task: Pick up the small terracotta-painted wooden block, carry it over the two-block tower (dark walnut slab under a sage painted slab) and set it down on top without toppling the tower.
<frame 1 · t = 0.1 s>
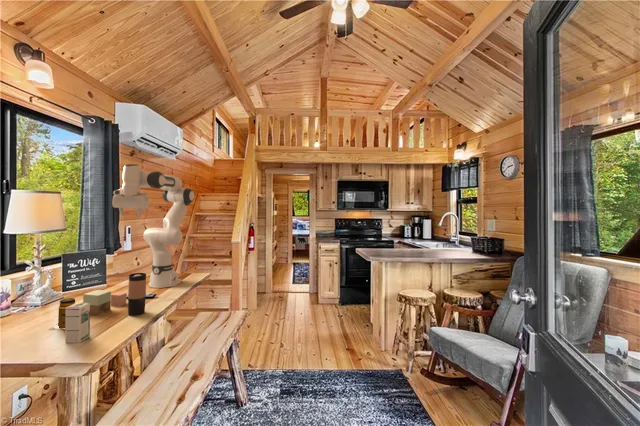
hand: (130, 216, 174), 48 cm above the table, fingers open, 8 cm apart
travel mug: (136, 314, 154), on the table
block top: (97, 302, 153), point 5 cm above the table, touching block low
block low: (96, 312, 154), on the table, touching block top
block small: (118, 304, 165), on the table
syrup box: (77, 340, 123), on the table
condiment: (64, 326, 136), on the table
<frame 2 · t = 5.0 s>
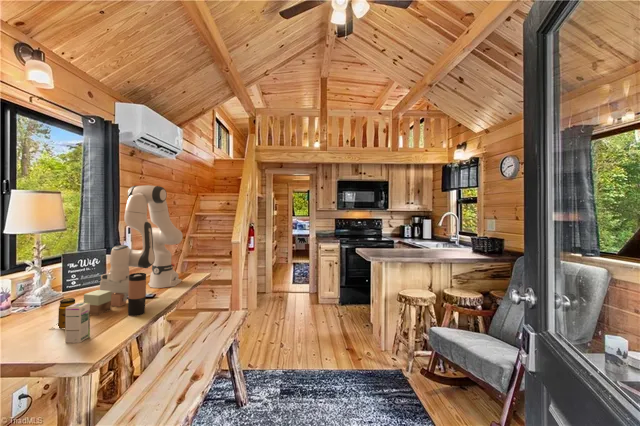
hand: (118, 300, 165), 2 cm above the table, fingers closed on block small, 5 cm apart
block small: (118, 304, 165), on the table, touching gripper
everything else where it was.
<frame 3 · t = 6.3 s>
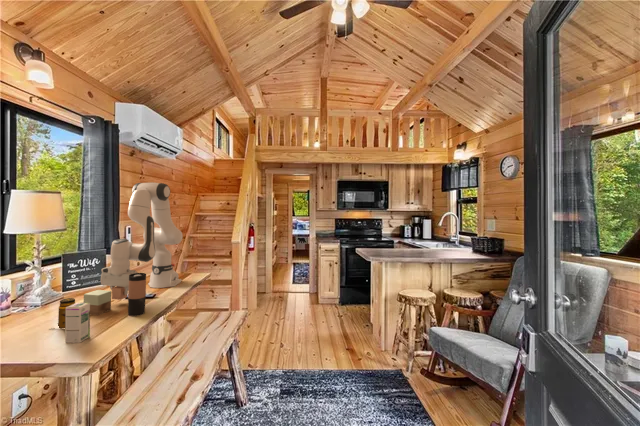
hand: (119, 294, 166), 6 cm above the table, fingers closed on block small, 5 cm apart
block small: (119, 297, 166), point 3 cm above the table, touching gripper
everything else where it was.
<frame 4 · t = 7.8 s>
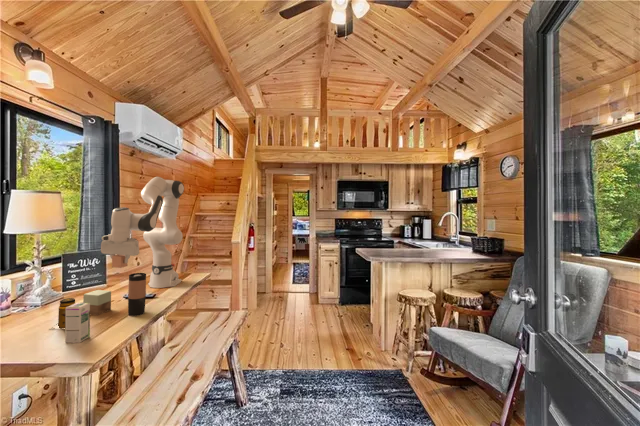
hand: (119, 262, 165), 23 cm above the table, fingers closed on block small, 5 cm apart
block small: (119, 266, 165), point 21 cm above the table, touching gripper
everything else where it was.
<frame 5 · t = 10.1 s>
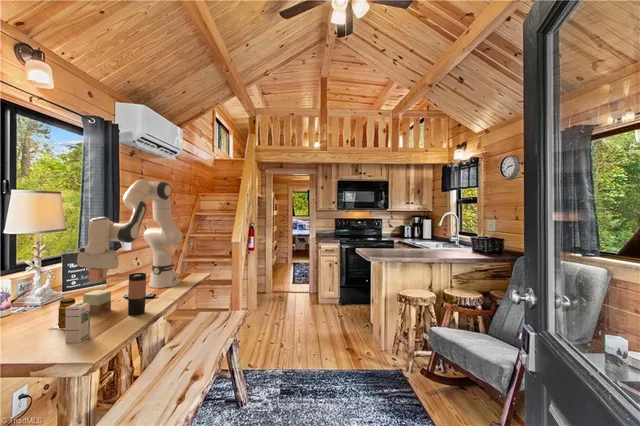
hand: (97, 276, 153), 18 cm above the table, fingers closed on block small, 5 cm apart
block small: (97, 280, 153), point 16 cm above the table, touching gripper
everything else where it was.
when the fingers open (13 cm above the table, at t = 12.2 s): block small drops 1 cm, resting on block top.
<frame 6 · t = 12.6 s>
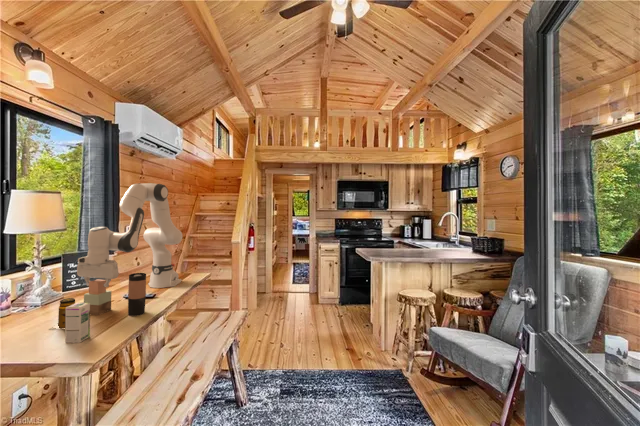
hand: (97, 286, 153), 13 cm above the table, fingers open, 8 cm apart
block top: (97, 302, 154), point 5 cm above the table, touching block low, block small
block small: (97, 292, 153), point 10 cm above the table, touching block top
everything else where it was.
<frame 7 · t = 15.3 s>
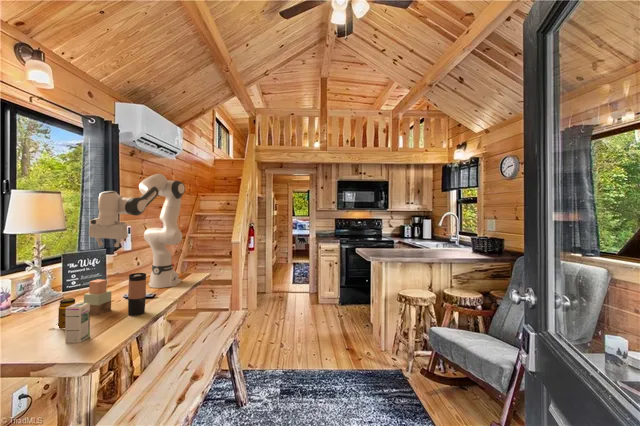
hand: (108, 246, 164), 32 cm above the table, fingers open, 8 cm apart
block top: (97, 302, 154), point 5 cm above the table, touching block low
block small: (97, 292, 154), point 10 cm above the table
everything else where it was.
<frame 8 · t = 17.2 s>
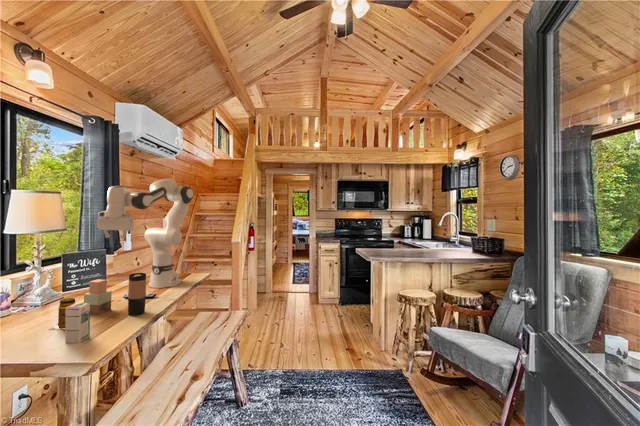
hand: (115, 237, 173), 35 cm above the table, fingers open, 8 cm apart
block top: (97, 302, 154), point 5 cm above the table, touching block low, block small
block small: (97, 292, 154), point 10 cm above the table, touching block top
everything else where it was.
at the end: block small 0.2 cm off-centre on the block top, point 5.0 cm above the block top's base; block small tilted 0°; block top tilted 0° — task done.
